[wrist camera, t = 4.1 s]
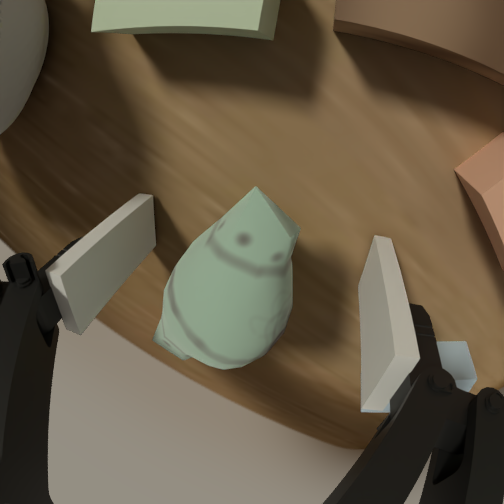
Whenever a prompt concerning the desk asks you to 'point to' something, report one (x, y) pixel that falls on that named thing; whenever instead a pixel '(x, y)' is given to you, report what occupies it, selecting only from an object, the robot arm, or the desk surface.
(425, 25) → the plinth
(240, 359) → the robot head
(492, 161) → the brick terracotta
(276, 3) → the brick sage
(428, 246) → the desk surface
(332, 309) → the desk surface
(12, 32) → the teacup
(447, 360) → the brick blue
